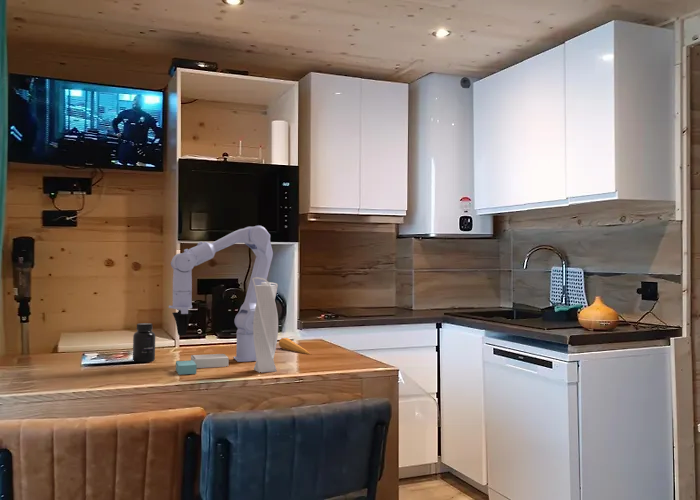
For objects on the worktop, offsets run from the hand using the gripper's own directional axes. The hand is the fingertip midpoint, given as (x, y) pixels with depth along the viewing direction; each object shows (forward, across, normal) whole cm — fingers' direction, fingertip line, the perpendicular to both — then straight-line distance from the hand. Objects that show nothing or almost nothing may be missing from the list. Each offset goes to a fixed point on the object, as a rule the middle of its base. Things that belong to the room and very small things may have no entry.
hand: (181, 335), depth 194 cm
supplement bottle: (+10, -11, -11) cm, 18 cm away
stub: (+9, +13, 0) cm, 16 cm away
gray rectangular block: (+9, +3, +8) cm, 13 cm away
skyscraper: (+10, +17, +22) cm, 30 cm away
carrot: (+10, -16, +41) cm, 45 cm away
